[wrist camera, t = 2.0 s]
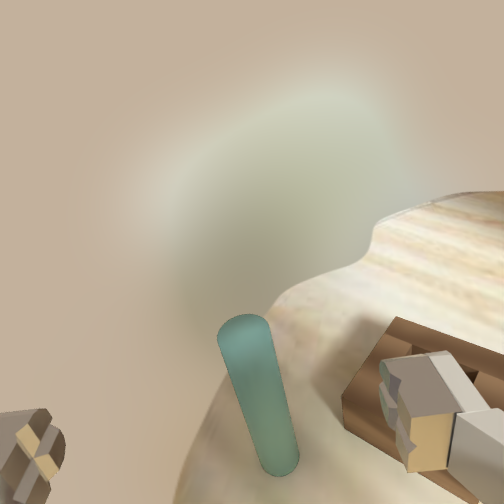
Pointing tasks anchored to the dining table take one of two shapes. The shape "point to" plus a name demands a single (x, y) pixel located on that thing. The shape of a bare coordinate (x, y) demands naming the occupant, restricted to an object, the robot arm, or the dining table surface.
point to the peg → (260, 391)
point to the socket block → (406, 344)
